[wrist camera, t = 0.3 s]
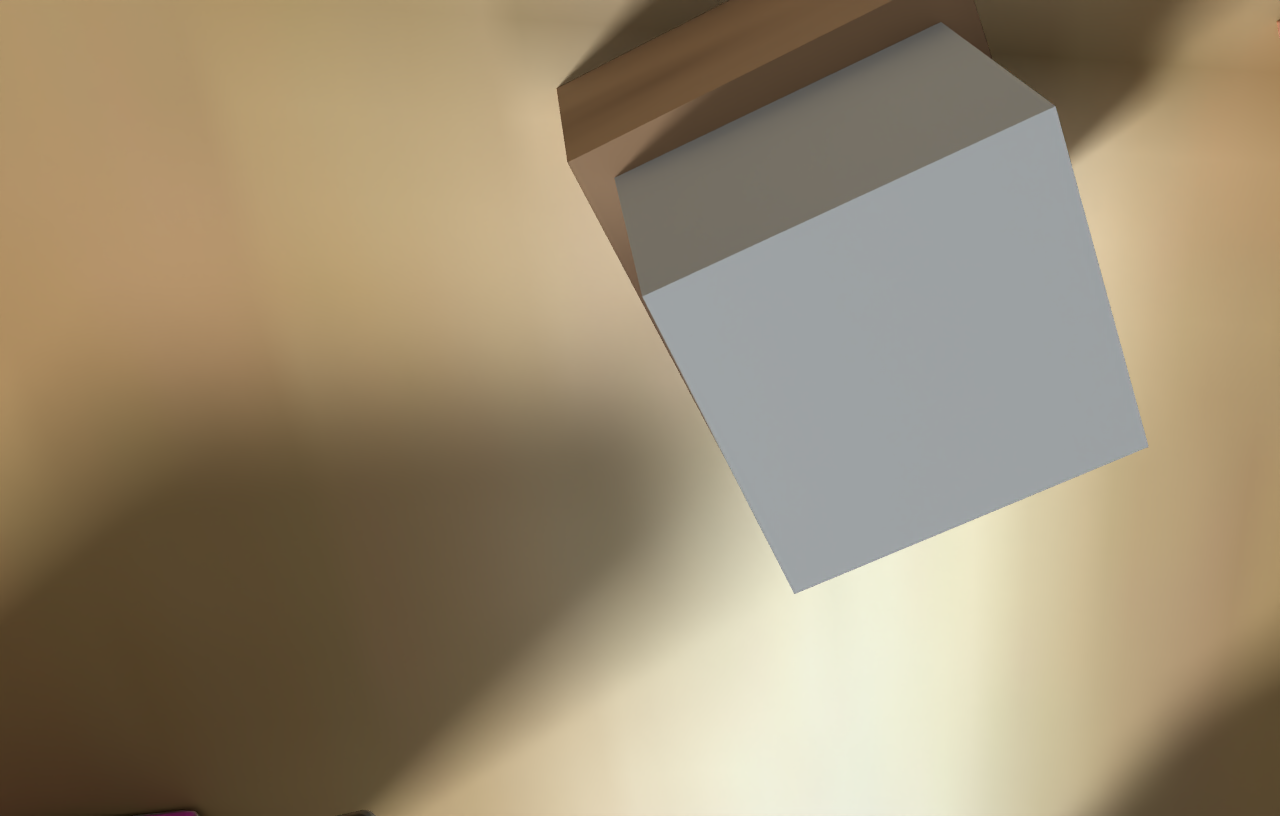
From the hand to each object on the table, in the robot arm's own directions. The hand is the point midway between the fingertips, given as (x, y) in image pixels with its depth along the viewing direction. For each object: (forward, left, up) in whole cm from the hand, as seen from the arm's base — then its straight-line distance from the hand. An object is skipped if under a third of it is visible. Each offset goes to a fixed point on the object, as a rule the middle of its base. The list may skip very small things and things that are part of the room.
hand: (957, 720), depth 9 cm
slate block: (-1, -1, -10) cm, 10 cm away
